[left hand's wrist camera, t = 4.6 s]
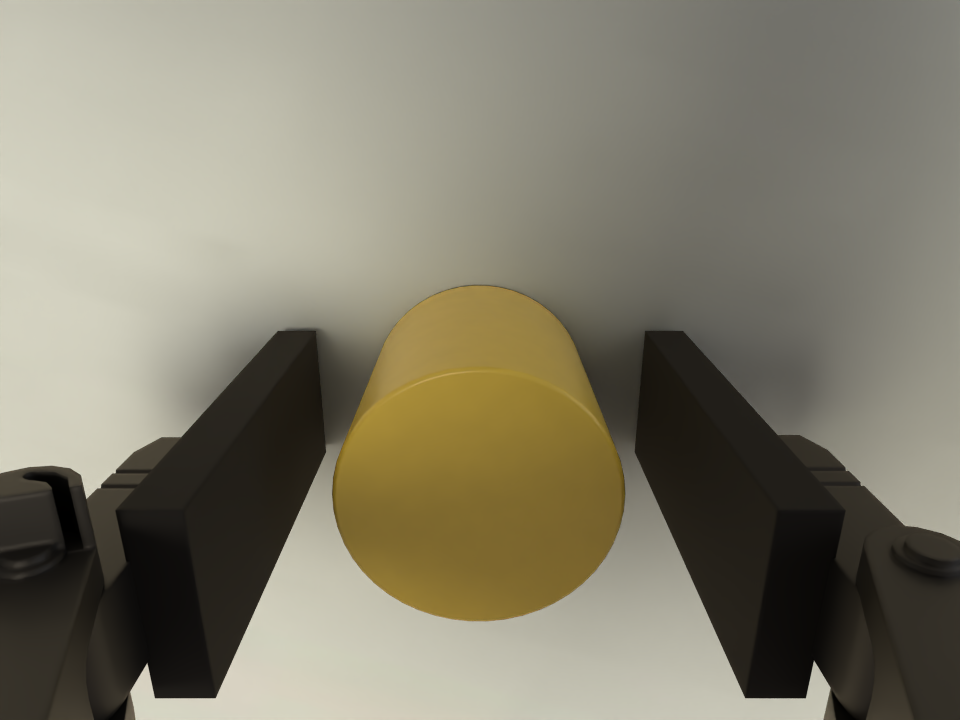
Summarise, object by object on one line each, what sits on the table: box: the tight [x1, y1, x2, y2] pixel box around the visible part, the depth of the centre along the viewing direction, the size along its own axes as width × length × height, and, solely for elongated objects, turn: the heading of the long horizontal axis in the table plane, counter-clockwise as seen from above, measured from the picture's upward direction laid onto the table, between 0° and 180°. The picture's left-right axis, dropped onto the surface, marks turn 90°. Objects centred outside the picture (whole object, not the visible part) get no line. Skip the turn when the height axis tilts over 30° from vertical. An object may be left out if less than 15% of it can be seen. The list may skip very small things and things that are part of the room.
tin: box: [332, 286, 625, 621], centre depth 12 cm, size 4×4×5 cm
